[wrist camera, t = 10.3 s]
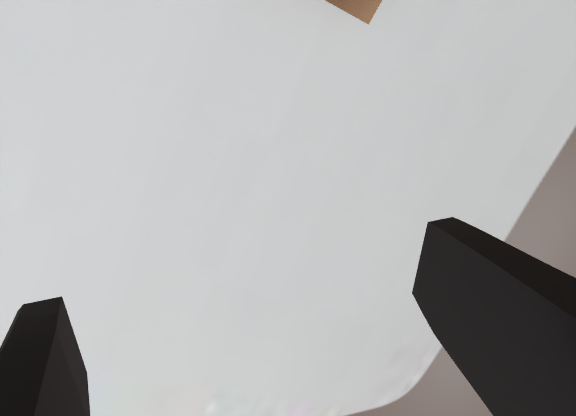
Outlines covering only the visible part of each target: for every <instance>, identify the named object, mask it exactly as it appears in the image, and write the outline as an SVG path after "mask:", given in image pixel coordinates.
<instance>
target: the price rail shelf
mask: <svg viewBox="0 0 576 416" xmlns="http://www.w3.org/2000/svg"><path fill="white" fill-rule="evenodd" d="M326 1H328V2H330V3H331V4H333V5H335V6H337V7H338V8H340V9H342V10H344V11H345V12H347V13H349V14H351V15H353V16H354V17H356V18H358V19H360V20H361V21H363V22H365V23H367V24H369V23H370V21H371V19H372V17H373V16H374V14H375V12H376V10H377V8H378V7H379V5H380V3H381V1H382V0H326Z"/></svg>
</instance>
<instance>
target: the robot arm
mask: <svg viewBox="0 0 576 416" xmlns="http://www.w3.org/2000/svg"><path fill="white" fill-rule="evenodd" d="M412 294H413V295H414V297H415V299H416V301H417V303H418V305H419V307H420V309H421V311H422V313H423V315H424V317H425V318H426V320H427V322H428V324H429V326H430V327H431V329H432V331H433V333H434V334H435V336H436V337H437V339H438V340H439V341H440V343H441V344H442V346H443V347H444V348H445V350H446V351H447V353H448V354H449V355H450V357H451V358H452V359H453V361H454V362H455V364H456V365H457V367H458V368H459V369H460V370H461V372H462V373H463V375H464V376H465V377H466V379H467V380H468V382H469V383H470V384H471V386H472V387H473V388H474V390H475V391H476V392H477V394H478V395H479V397H480V398H481V399H482V401H483V402H484V403H485V405H486V406H487V408H488V409H489V410H490V412H491V413H492V414H493V416H576V278H575V277H573V276H570V275H568V274H566V273H564V272H562V271H560V270H558V269H556V268H554V267H552V266H550V265H548V264H546V263H544V262H542V261H540V260H538V259H536V258H534V257H532V256H530V255H528V254H526V253H525V252H523V251H521V250H519V249H517V248H515V247H513V246H511V245H509V244H507V243H505V242H503V241H501V240H499V239H497V238H495V237H493V236H492V235H490V234H488V233H486V232H484V231H482V230H480V229H478V228H476V227H473V226H471V225H469V224H467V223H465V222H463V221H461V220H458V219H456V218H454V217H451V218H446V219H441V220H436V221H431V222H428V224H427V228H426V233H425V237H424V242H423V246H422V251H421V255H420V260H419V264H418V269H417V273H416V278H415V283H414V287H413V292H412ZM0 416H90V406H89V393H88V380H87V371H86V368H85V365H84V362H83V359H82V356H81V353H80V350H79V347H78V344H77V341H76V338H75V335H74V332H73V329H72V326H71V323H70V320H69V317H68V314H67V310H66V307H65V304H64V301H63V298H62V297H57V298H52V299H48V300H43V301H38V302H33V303H28V304H23V305H22V307H21V308H20V309H19V310H18V312H17V314H16V316H15V318H14V320H13V322H12V325H11V327H10V329H9V331H8V333H7V335H6V337H5V339H4V341H3V343H2V345H1V347H0Z"/></svg>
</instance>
